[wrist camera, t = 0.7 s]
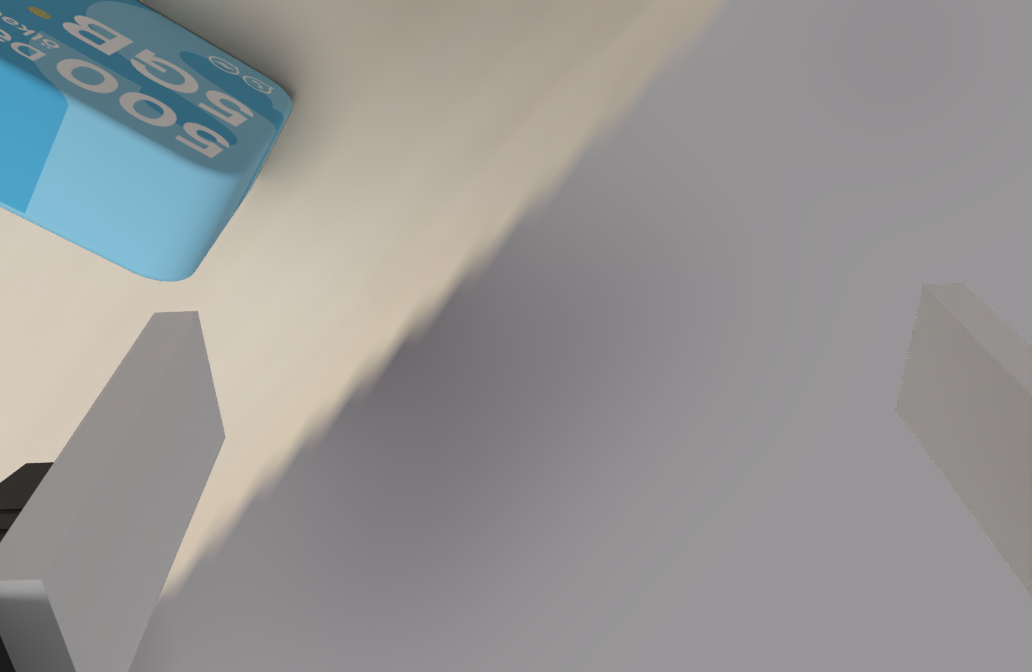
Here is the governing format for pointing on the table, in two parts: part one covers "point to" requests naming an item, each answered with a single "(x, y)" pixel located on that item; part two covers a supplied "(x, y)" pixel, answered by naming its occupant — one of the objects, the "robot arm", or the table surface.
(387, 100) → the table surface
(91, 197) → the data package
